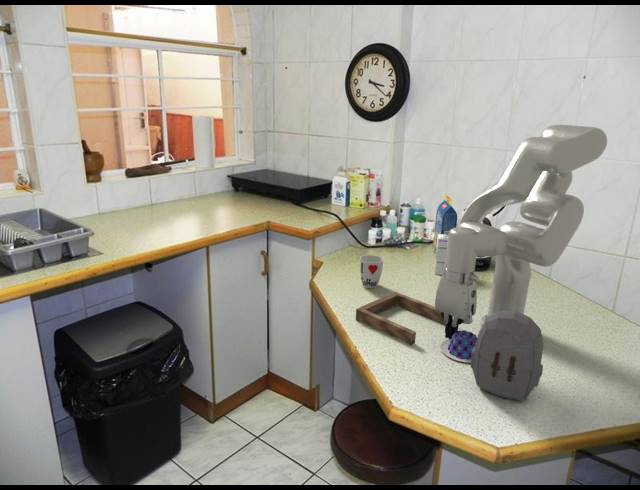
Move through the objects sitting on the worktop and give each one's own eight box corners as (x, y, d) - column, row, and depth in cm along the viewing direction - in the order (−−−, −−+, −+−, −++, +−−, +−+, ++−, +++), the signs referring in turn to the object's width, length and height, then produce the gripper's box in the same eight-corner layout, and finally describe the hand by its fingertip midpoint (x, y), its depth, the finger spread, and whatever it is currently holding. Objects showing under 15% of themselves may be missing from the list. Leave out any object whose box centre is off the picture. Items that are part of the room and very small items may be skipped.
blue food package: (446, 249, 205) (453, 193, 197) (452, 258, 194) (460, 200, 186) (432, 249, 205) (438, 193, 198) (437, 258, 194) (444, 199, 186)
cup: (354, 286, 162) (356, 260, 159) (363, 279, 169) (365, 253, 166) (376, 291, 159) (378, 264, 156) (384, 284, 165) (386, 257, 162)
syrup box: (450, 276, 175) (454, 239, 170) (434, 274, 176) (438, 237, 171) (449, 270, 180) (453, 234, 176) (433, 269, 181) (437, 233, 177)
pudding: (475, 370, 115) (478, 352, 113) (431, 352, 122) (433, 335, 121) (494, 352, 124) (497, 334, 122) (452, 336, 131) (454, 319, 129)
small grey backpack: (538, 394, 106) (554, 315, 100) (533, 414, 99) (550, 330, 93) (471, 373, 113) (482, 298, 107) (462, 391, 106) (473, 312, 100)
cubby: (448, 323, 138) (450, 312, 137) (411, 345, 125) (412, 333, 124) (394, 301, 151) (395, 291, 150) (355, 319, 138) (356, 308, 137)
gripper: (492, 279, 119) (482, 342, 125) (441, 263, 129) (434, 323, 135) (478, 286, 114) (468, 352, 120) (426, 270, 124) (419, 331, 130)
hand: (450, 336), depth 127 cm, fingers closed
